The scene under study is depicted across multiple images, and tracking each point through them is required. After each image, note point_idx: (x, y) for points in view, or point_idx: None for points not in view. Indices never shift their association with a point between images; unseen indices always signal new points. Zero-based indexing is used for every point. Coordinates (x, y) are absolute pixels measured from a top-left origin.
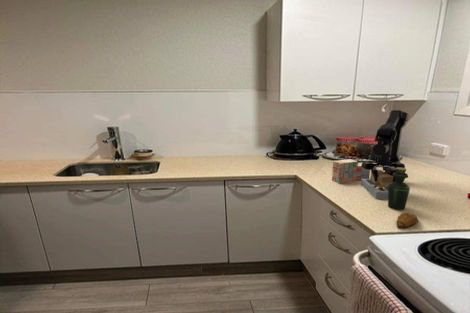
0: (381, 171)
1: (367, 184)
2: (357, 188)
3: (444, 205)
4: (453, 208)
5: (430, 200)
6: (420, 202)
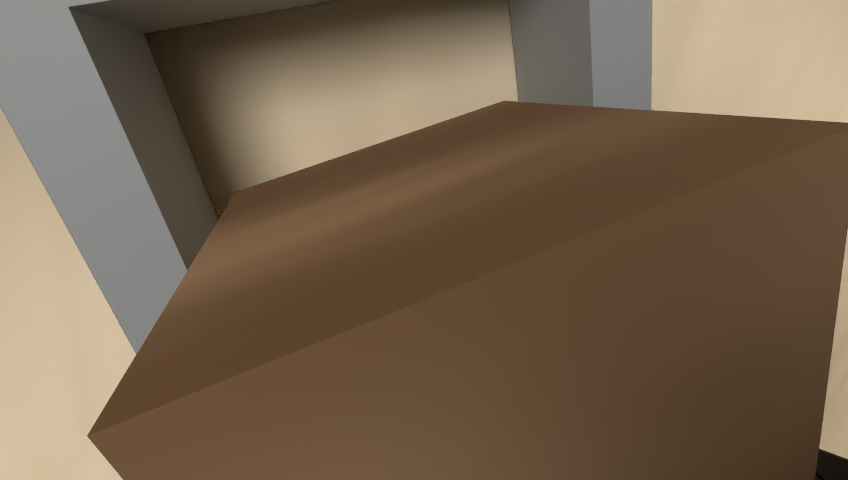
0: (728, 475)
1: None
2: (4, 289)
3: (829, 440)
4: None
5: None
6: None
